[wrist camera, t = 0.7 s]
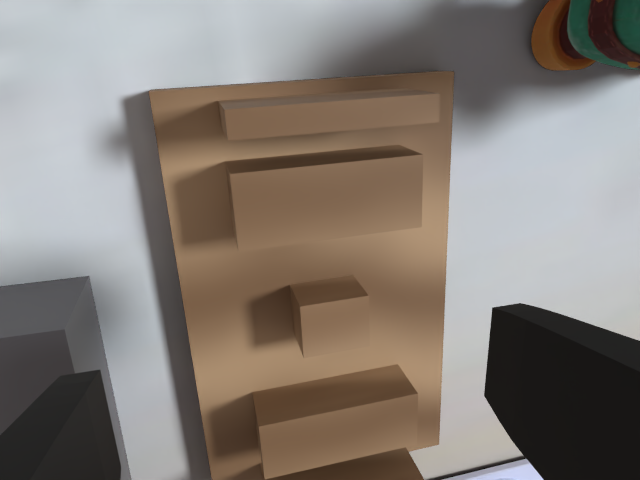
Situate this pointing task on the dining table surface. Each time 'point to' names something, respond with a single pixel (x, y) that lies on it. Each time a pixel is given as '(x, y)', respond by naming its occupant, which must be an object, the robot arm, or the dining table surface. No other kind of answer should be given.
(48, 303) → the grey rectangular box
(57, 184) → the dining table surface
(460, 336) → the dining table surface
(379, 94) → the stand
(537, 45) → the binoculars
